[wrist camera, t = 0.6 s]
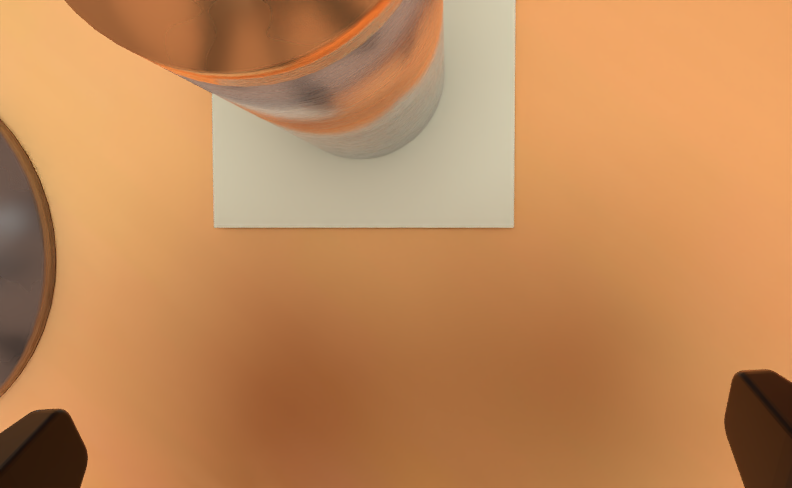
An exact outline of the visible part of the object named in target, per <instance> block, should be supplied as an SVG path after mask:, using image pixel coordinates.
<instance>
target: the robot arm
mask: <svg viewBox="0 0 792 488" xmlns="http://www.w3.org/2000/svg"><path fill="white" fill-rule="evenodd" d="M724 424H725V431H726V435H727V438H728V441H729V444H730V447H731V450H732V453H733V455H734V458H735V461H736V464H737V467H738V470H739V472H740V475H741V478H742V481H743V484H744V487H745V488H792V382H790V381H789V380H787V379H785V378H784V377H782V376H781V375H779V374H778V373H776V372H774V371H771V370H766V369H763V370H744V371H739V372H737V373H736V374H735V375H734V377H733V379H732V383H731V388H730V393H729V398H728V402H727V407H726V412H725V418H724ZM87 460H88V455H87V449H86V447H85V445H84V443H83V441H82V439H81V437H80V435H79V432H78V430H77V428H76V426H75V424H74V422H73V420H72V418H71V416H70V415H69V413H68V412H66V411H65V410H63V409H45V410H36V411H33V412H31V413H29V414H28V415H26V416H25V417H23V418H22V419H20V420H19V421H18V422H16V423H15V424H13V425H12V426H10V427H9V428H7V429H6V430H5V431H3V432H2V433H0V488H80V487H81V483H82V480H83V477H84V474H85V471H86V467H87Z"/></svg>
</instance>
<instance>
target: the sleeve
mask: <svg viewBox="0 0 792 488" xmlns="http://www.w3.org/2000/svg"><path fill="white" fill-rule="evenodd" d="M65 1H66V2H67V3H68V5H69V6H70V7H71V8H72V9H73V10H74V11H75V12H76V13H77V14H78V15H79V16H80V17H81V18H83V19H84V20H85V21H86V22H87V23H88V24H89V25H91V26H92V27H93V28H94V29H95V30H97V31H98V32H100V33H101V34H103V35H104V36H106V37H107V38H109V39H110V40H112V41H113V42H115V43H116V44H118V45H120V46H122V47H124V48H126V49H127V50H129V51H131V52H133V53H135V54H137V55H139V56H141V57H143V58H145V59H147V60H149V61H151V62H153V63H155V64H157V65H159V66H160V67H162V68H164V69H166V70H168V71H170V72H172V73H174V74H176V75H178V76H180V77H182V78H184V79H186V80H188V81H190V82H192V83H193V84H195V85H197V86H199V87H201V88H203V89H205V90H207V91H209V92H211V93H213V94H215V95H217V96H219V97H221V98H223V99H225V100H226V101H228V102H230V103H232V104H234V105H236V106H238V107H240V108H242V109H244V110H246V111H248V112H250V113H252V114H254V115H256V116H258V117H259V118H261V119H263V120H265V121H267V122H269V123H271V124H273V125H275V126H277V127H279V128H281V129H283V130H285V131H287V132H289V133H290V134H292V135H294V136H296V137H298V138H300V139H302V140H304V141H306V142H308V143H310V144H312V145H314V146H316V147H318V148H320V149H322V150H324V151H326V152H328V153H330V154H333V155H336V156H339V157H344V158H349V159H371V158H376V157H381V156H384V155H387V154H390V153H393V152H395V151H397V150H399V149H401V148H403V147H404V146H405V145H407V144H408V143H410V142H411V141H412V140H414V139H415V138H416V137H417V136H418V135H419V134H420V133H421V132H422V131H423V130H424V128H425V127H426V126H427V125H428V123H429V122H430V120H431V119H432V117H433V116H434V114H435V112H436V109H437V107H438V105H439V102H440V99H441V96H442V92H443V87H444V76H445V65H444V19H443V0H65Z"/></svg>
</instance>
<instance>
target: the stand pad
mask: <svg viewBox="0 0 792 488" xmlns="http://www.w3.org/2000/svg"><path fill="white" fill-rule="evenodd" d="M443 19H444V65H445V76H444V87H443V92H442V96H441V99H440V102H439V105H438V107H437V109H436V112H435V114H434V116H433V117H432V119H431V120H430V122H429V123H428V125H427V126H426V127H425V128H424V130H423V131H422V132H421V133H420V134H419V135H418V136H417V137H416V138H415V139H414V140H412V141H411V142H410V143H408V144H407V145H405V146H404V147H403V148H401V149H399V150H397V151H395V152H393V153H390V154H387V155H384V156H381V157H376V158H371V159H349V158H344V157H339V156H336V155H333V154H330V153H328V152H326V151H324V150H322V149H320V148H318V147H316V146H314V145H312V144H310V143H308V142H306V141H304V140H302V139H300V138H298V137H296V136H294V135H292V134H290V133H289V132H287V131H285V130H283V129H281V128H279V127H277V126H275V125H273V124H271V123H269V122H267V121H265V120H263V119H261V118H259V117H258V116H256V115H254V114H252V113H250V112H248V111H246V110H244V109H242V108H240V107H238V106H236V105H234V104H232V103H230V102H228V101H226V100H225V99H223V98H221V97H219V96H217V95H215V94H213V93H212V134H213V202H214V228H514V142H515V0H443Z"/></svg>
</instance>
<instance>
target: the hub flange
mask: <svg viewBox="0 0 792 488" xmlns="http://www.w3.org/2000/svg"><path fill="white" fill-rule="evenodd" d="M55 262H56V253H55V241H54V230H53V225H52V221H51V216H50V211H49V207H48V203H47V200H46V197H45V194H44V191H43V189H42V186H41V183H40V180H39V178H38V176H37V174H36V172H35V170H34V168H33V166H32V164H31V162H30V160H29V158H28V156H27V154H26V153H25V151H24V150H23V148H22V147H21V145H20V144H19V142H18V141H17V139H16V138H15V136H14V135H13V134H12V133H11V131H10V130H9V129H8V128H7V127H6V126H5V124H4V123H3V122H2V121H1V120H0V396H1V395H3V394H4V393H5V392H6V390H7V389H8V388H9V387H10V386H11V384H12V383H13V382H14V381H15V380H16V378H17V377H18V376H19V375H20V374H21V372H22V370H23V369H24V367H25V365H26V364H27V362H28V361H29V359H30V357H31V356H32V354H33V352H34V350H35V348H36V346H37V344H38V341H39V339H40V337H41V335H42V332H43V330H44V327H45V323H46V320H47V317H48V313H49V310H50V307H51V301H52V295H53V289H54V283H55Z"/></svg>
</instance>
